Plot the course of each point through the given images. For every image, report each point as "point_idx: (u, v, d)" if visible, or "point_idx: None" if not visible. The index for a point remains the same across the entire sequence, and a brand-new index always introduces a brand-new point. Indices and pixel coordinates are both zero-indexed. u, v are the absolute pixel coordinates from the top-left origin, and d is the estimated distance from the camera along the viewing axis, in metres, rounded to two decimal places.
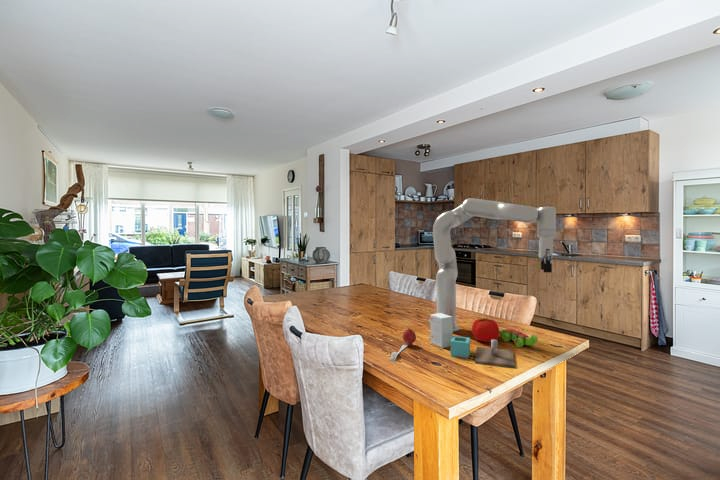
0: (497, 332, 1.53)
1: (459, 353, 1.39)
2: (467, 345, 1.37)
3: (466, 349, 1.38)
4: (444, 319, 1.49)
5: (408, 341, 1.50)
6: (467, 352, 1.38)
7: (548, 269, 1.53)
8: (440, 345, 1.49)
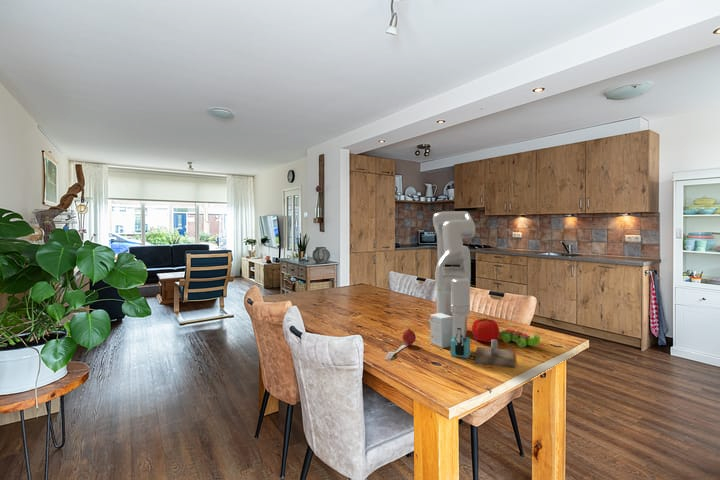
0: (497, 332, 1.53)
1: None
2: (467, 345, 1.37)
3: (466, 349, 1.38)
4: (444, 319, 1.49)
5: (407, 341, 1.50)
6: (467, 352, 1.37)
7: (459, 352, 1.37)
8: (440, 345, 1.49)
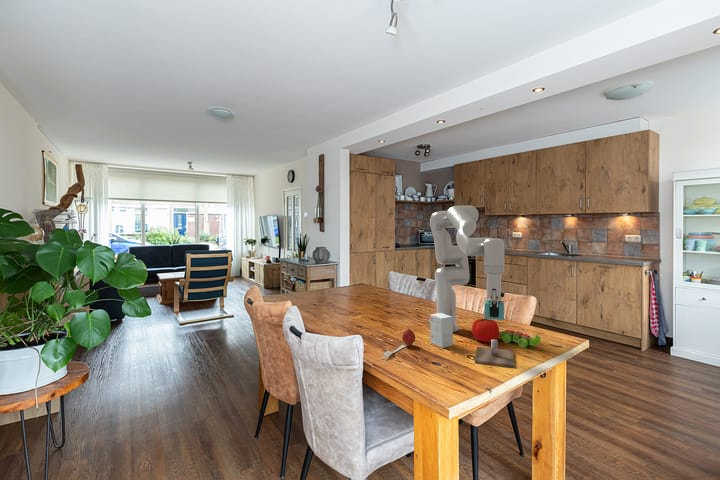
0: (497, 332, 1.53)
1: None
2: (502, 307, 1.32)
3: (501, 311, 1.32)
4: (444, 319, 1.49)
5: (407, 342, 1.50)
6: (502, 314, 1.32)
7: (494, 314, 1.32)
8: (440, 345, 1.49)
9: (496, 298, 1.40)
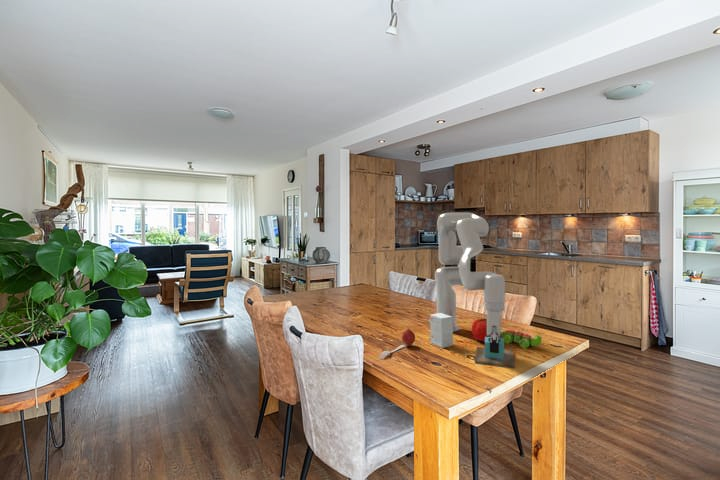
0: None
1: (493, 355, 1.34)
2: (502, 346, 1.33)
3: (501, 350, 1.33)
4: (444, 319, 1.49)
5: (406, 342, 1.50)
6: (502, 353, 1.33)
7: (494, 349, 1.31)
8: (440, 345, 1.49)
9: None
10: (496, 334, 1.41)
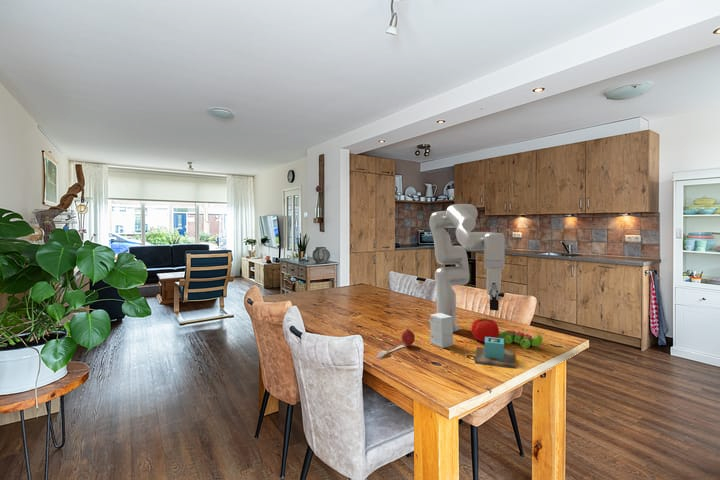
0: (497, 332, 1.53)
1: (493, 355, 1.34)
2: (502, 346, 1.33)
3: (501, 350, 1.33)
4: (444, 319, 1.49)
5: (406, 342, 1.50)
6: (502, 353, 1.33)
7: (494, 307, 1.31)
8: (440, 345, 1.49)
9: None
10: None
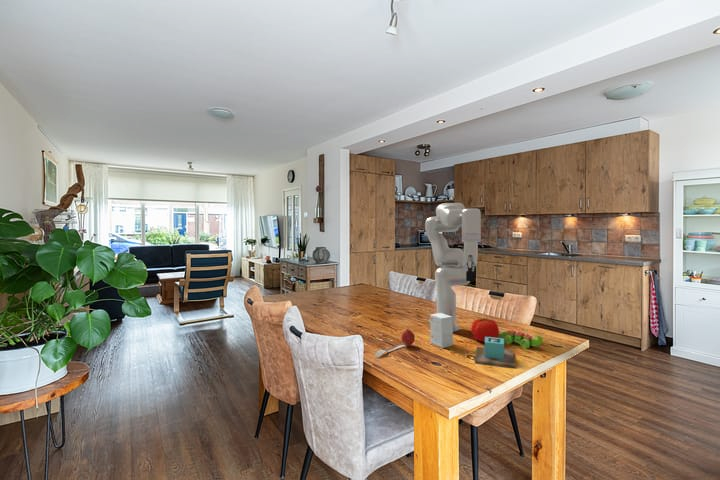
0: (496, 332, 1.53)
1: (493, 355, 1.34)
2: (502, 346, 1.33)
3: (501, 350, 1.33)
4: (444, 319, 1.49)
5: (405, 342, 1.49)
6: (502, 353, 1.33)
7: (470, 277, 1.38)
8: (440, 345, 1.49)
9: None
10: (473, 267, 1.48)
